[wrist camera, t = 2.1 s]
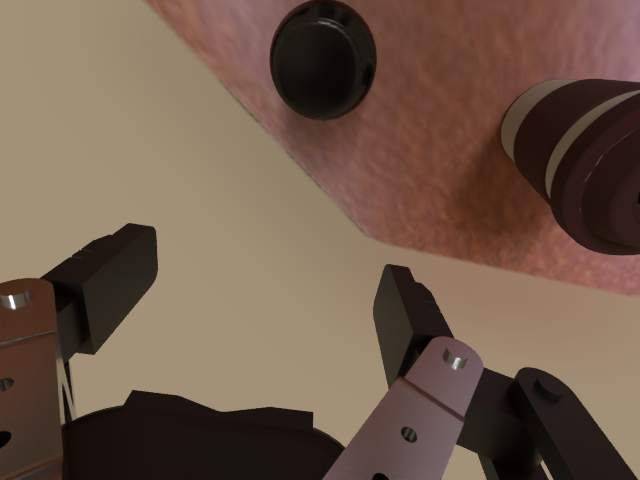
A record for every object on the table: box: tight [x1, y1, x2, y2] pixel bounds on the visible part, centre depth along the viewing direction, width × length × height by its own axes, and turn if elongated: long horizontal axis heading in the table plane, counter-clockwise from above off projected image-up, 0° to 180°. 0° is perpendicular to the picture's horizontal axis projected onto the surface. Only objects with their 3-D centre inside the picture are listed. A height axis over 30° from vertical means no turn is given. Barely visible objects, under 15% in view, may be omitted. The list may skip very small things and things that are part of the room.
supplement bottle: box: [270, 0, 377, 120], centre depth 23 cm, size 7×7×12 cm
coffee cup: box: [501, 79, 640, 255], centre depth 23 cm, size 10×10×15 cm
